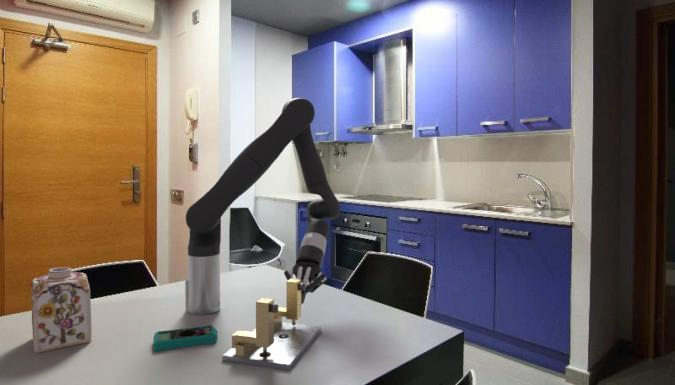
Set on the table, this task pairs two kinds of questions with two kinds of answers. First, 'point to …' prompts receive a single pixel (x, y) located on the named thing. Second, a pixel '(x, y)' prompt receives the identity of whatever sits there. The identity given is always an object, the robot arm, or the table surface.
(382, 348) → the table surface
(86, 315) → the decorative jar
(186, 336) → the digital multimeter
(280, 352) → the flange plate
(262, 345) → the tan block assembly
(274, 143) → the robot arm
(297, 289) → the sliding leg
